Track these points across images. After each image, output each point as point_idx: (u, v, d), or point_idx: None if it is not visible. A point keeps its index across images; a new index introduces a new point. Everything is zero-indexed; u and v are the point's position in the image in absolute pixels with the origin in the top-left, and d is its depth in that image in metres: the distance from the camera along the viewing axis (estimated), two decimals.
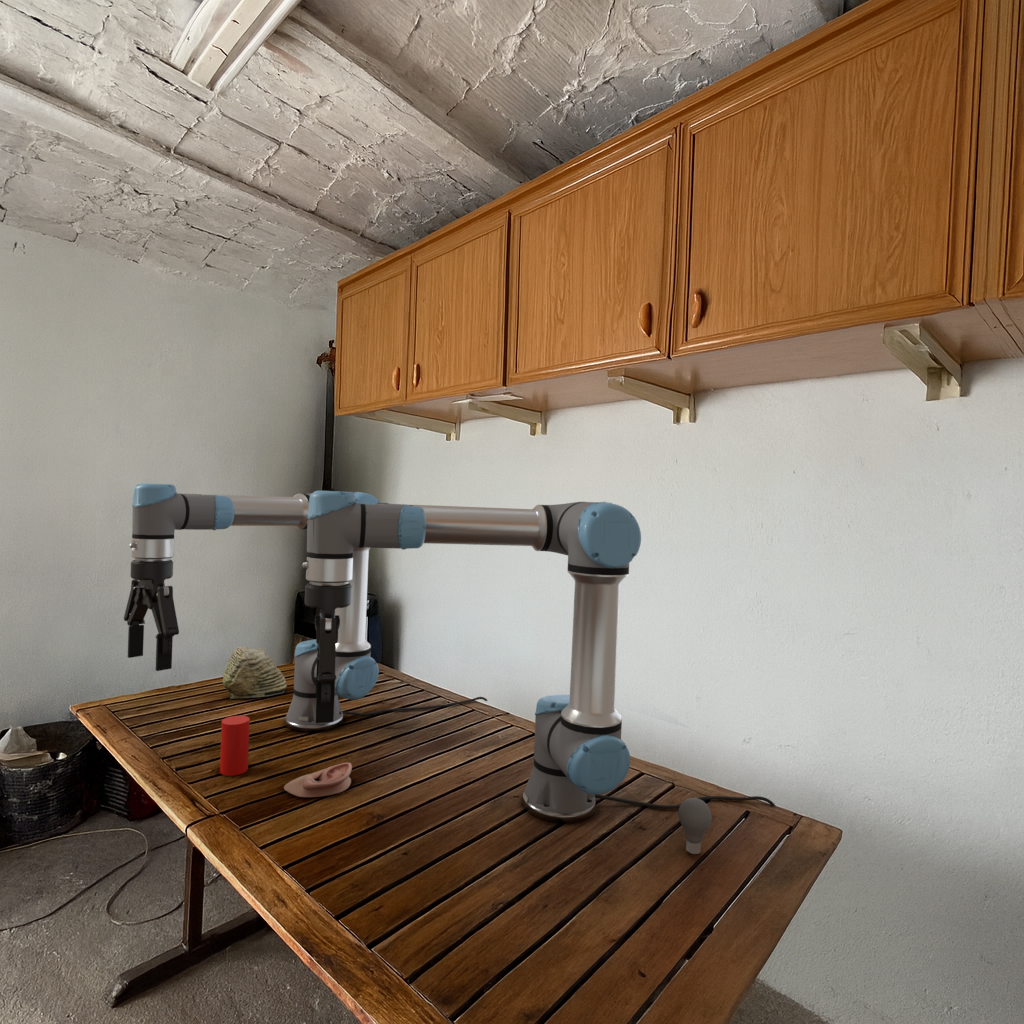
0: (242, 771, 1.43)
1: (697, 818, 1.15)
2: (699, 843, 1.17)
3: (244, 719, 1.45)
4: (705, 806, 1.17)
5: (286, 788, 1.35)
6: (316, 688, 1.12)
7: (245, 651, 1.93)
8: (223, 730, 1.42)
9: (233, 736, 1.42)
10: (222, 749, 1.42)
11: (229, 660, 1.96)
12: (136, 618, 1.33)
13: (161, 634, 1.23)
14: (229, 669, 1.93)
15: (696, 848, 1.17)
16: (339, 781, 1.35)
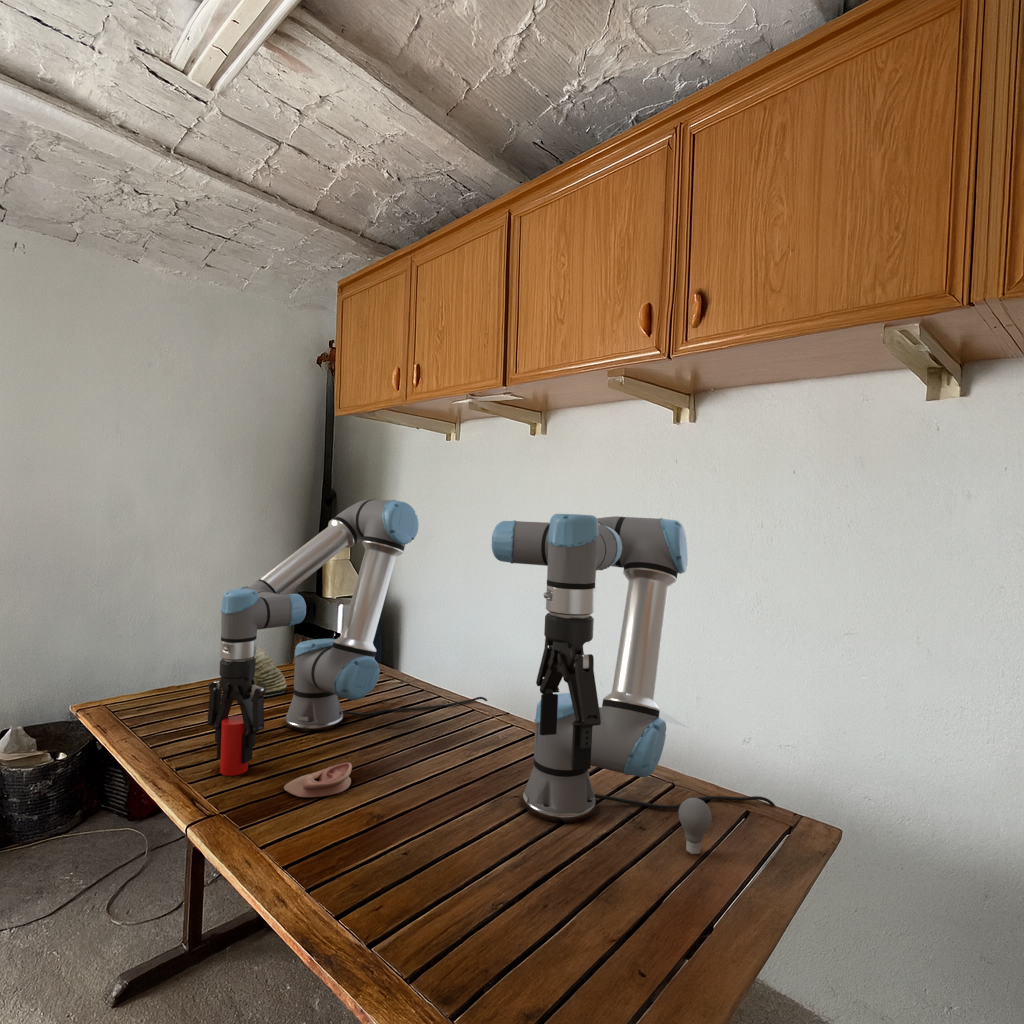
0: (242, 771, 1.43)
1: (697, 818, 1.15)
2: (699, 843, 1.17)
3: None
4: (705, 806, 1.17)
5: (286, 788, 1.35)
6: (541, 726, 1.04)
7: None
8: (223, 730, 1.42)
9: (233, 736, 1.42)
10: (222, 749, 1.42)
11: None
12: None
13: (250, 732, 1.42)
14: None
15: (696, 848, 1.17)
16: (339, 781, 1.35)
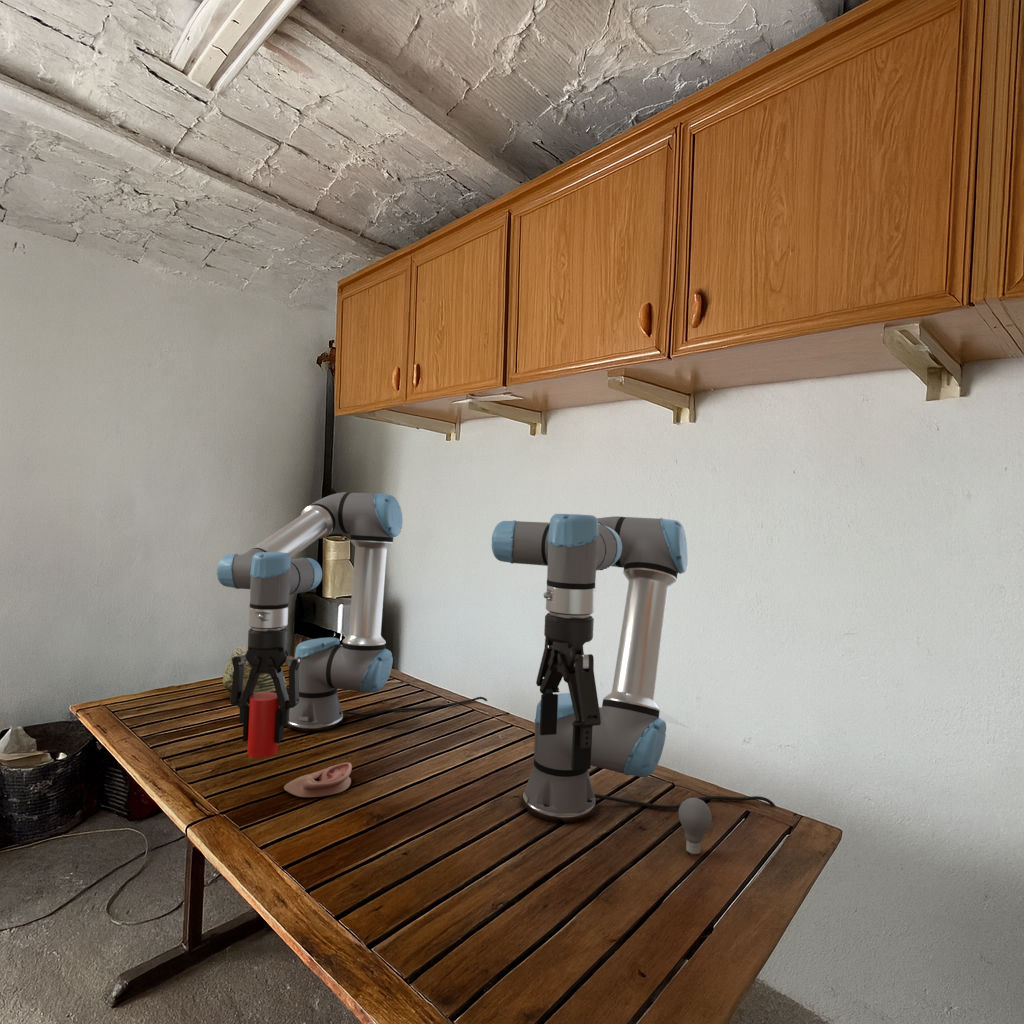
0: (275, 752, 1.30)
1: (697, 818, 1.15)
2: (699, 843, 1.17)
3: (274, 695, 1.31)
4: (705, 806, 1.17)
5: (286, 788, 1.35)
6: (541, 726, 1.04)
7: (245, 651, 1.93)
8: (254, 708, 1.28)
9: (267, 713, 1.28)
10: (252, 729, 1.28)
11: (229, 660, 1.96)
12: (249, 696, 1.30)
13: (285, 708, 1.29)
14: (229, 669, 1.93)
15: (696, 848, 1.17)
16: (339, 781, 1.35)
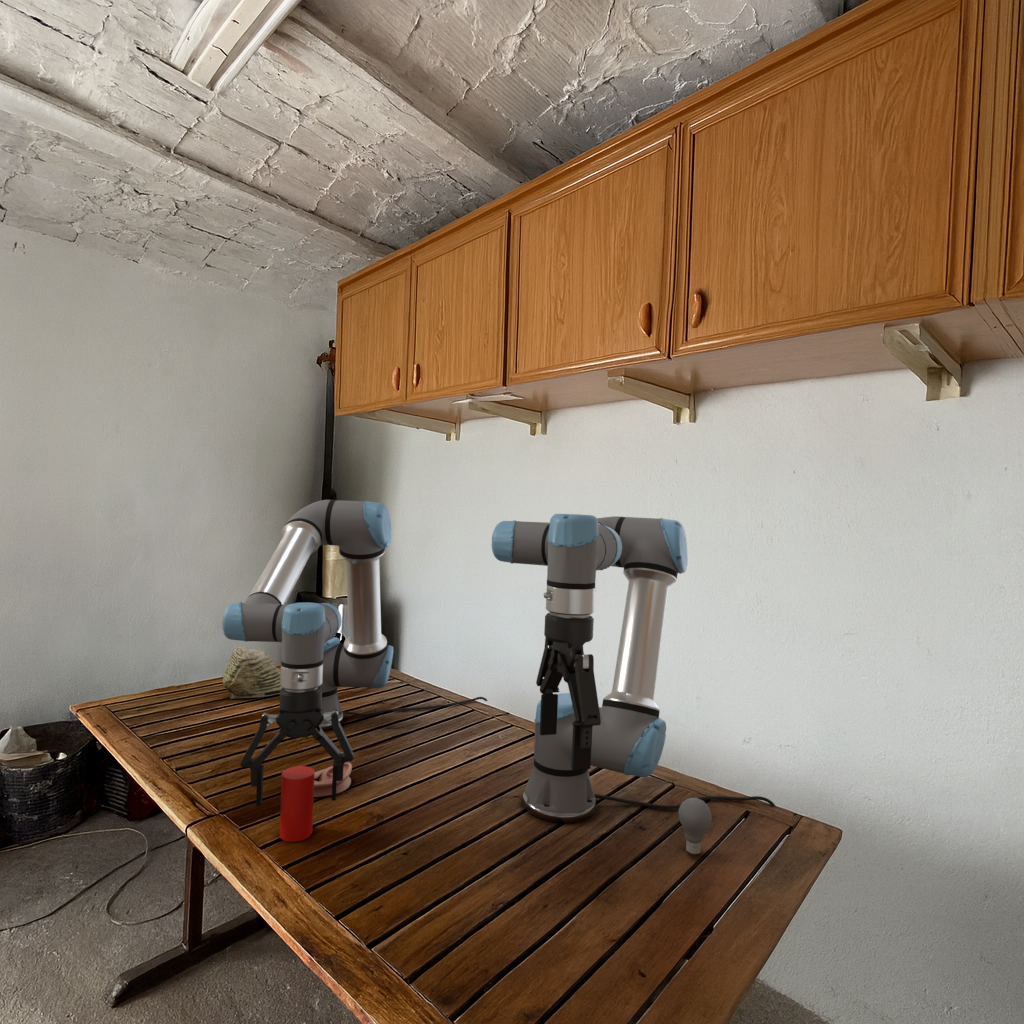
0: (311, 831, 1.19)
1: (697, 818, 1.15)
2: (699, 843, 1.17)
3: (307, 769, 1.20)
4: (705, 806, 1.17)
5: None
6: (541, 726, 1.04)
7: (245, 651, 1.93)
8: (291, 787, 1.16)
9: (305, 792, 1.17)
10: (289, 811, 1.16)
11: (229, 660, 1.96)
12: None
13: (343, 761, 1.19)
14: (229, 669, 1.93)
15: (696, 848, 1.17)
16: (339, 781, 1.35)
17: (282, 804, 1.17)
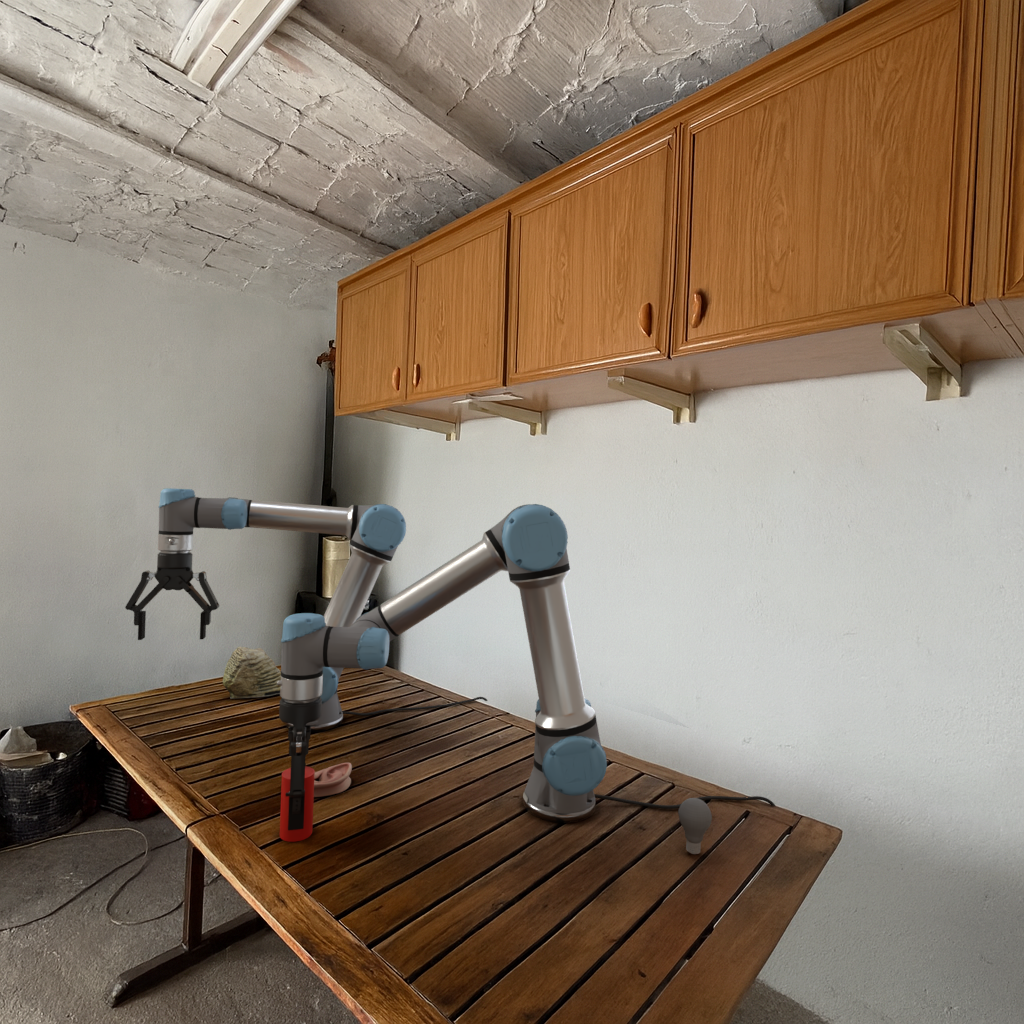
0: (311, 831, 1.19)
1: (697, 818, 1.15)
2: (699, 843, 1.17)
3: (307, 769, 1.20)
4: (705, 806, 1.17)
5: None
6: None
7: (245, 651, 1.93)
8: None
9: (305, 792, 1.17)
10: None
11: (229, 660, 1.96)
12: (145, 605, 1.53)
13: (209, 609, 1.55)
14: (229, 669, 1.93)
15: (696, 848, 1.17)
16: (339, 781, 1.35)
17: (282, 804, 1.17)
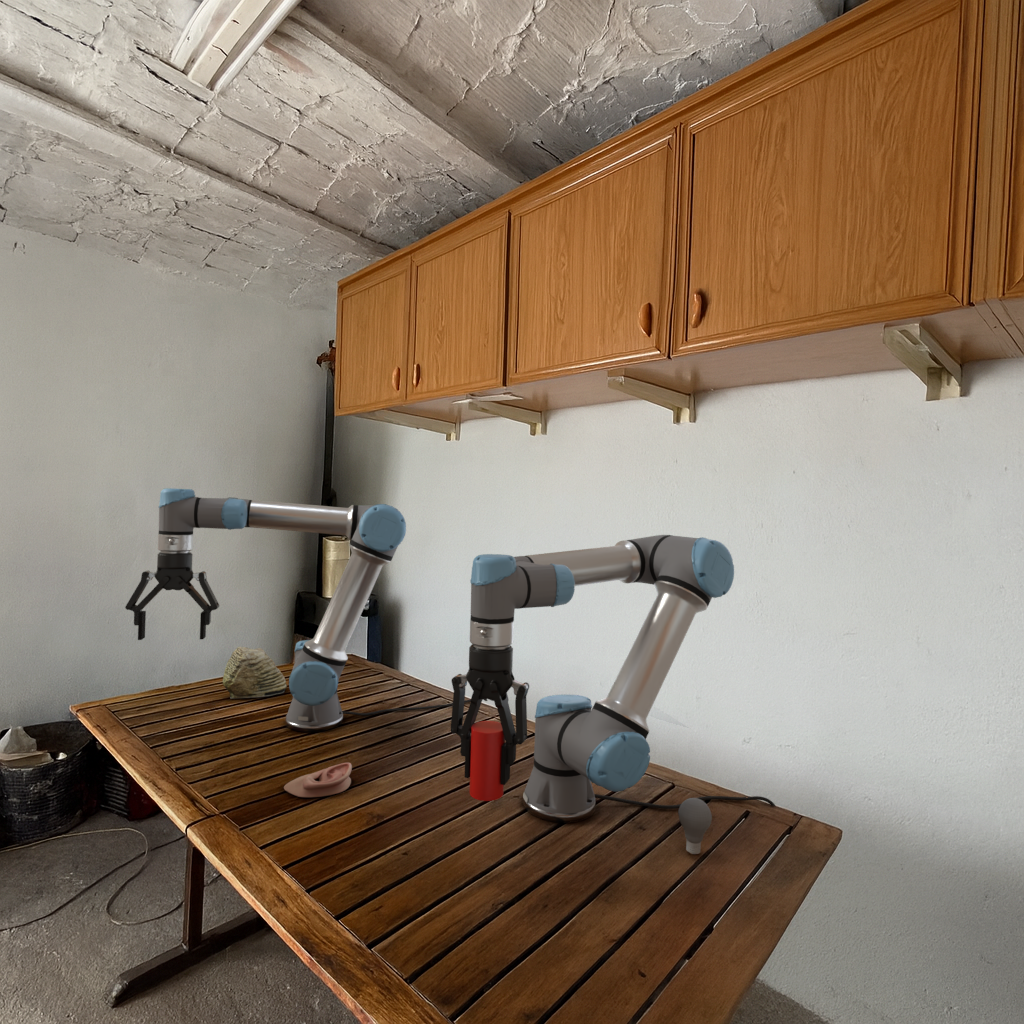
0: None
1: (697, 818, 1.15)
2: (699, 843, 1.17)
3: (487, 722, 1.11)
4: (705, 806, 1.17)
5: (286, 788, 1.35)
6: (468, 769, 1.09)
7: (245, 651, 1.93)
8: (500, 740, 1.07)
9: None
10: (499, 766, 1.07)
11: (229, 660, 1.96)
12: (145, 605, 1.53)
13: (209, 609, 1.55)
14: (229, 669, 1.93)
15: (696, 848, 1.17)
16: (339, 781, 1.35)
17: (489, 763, 1.06)
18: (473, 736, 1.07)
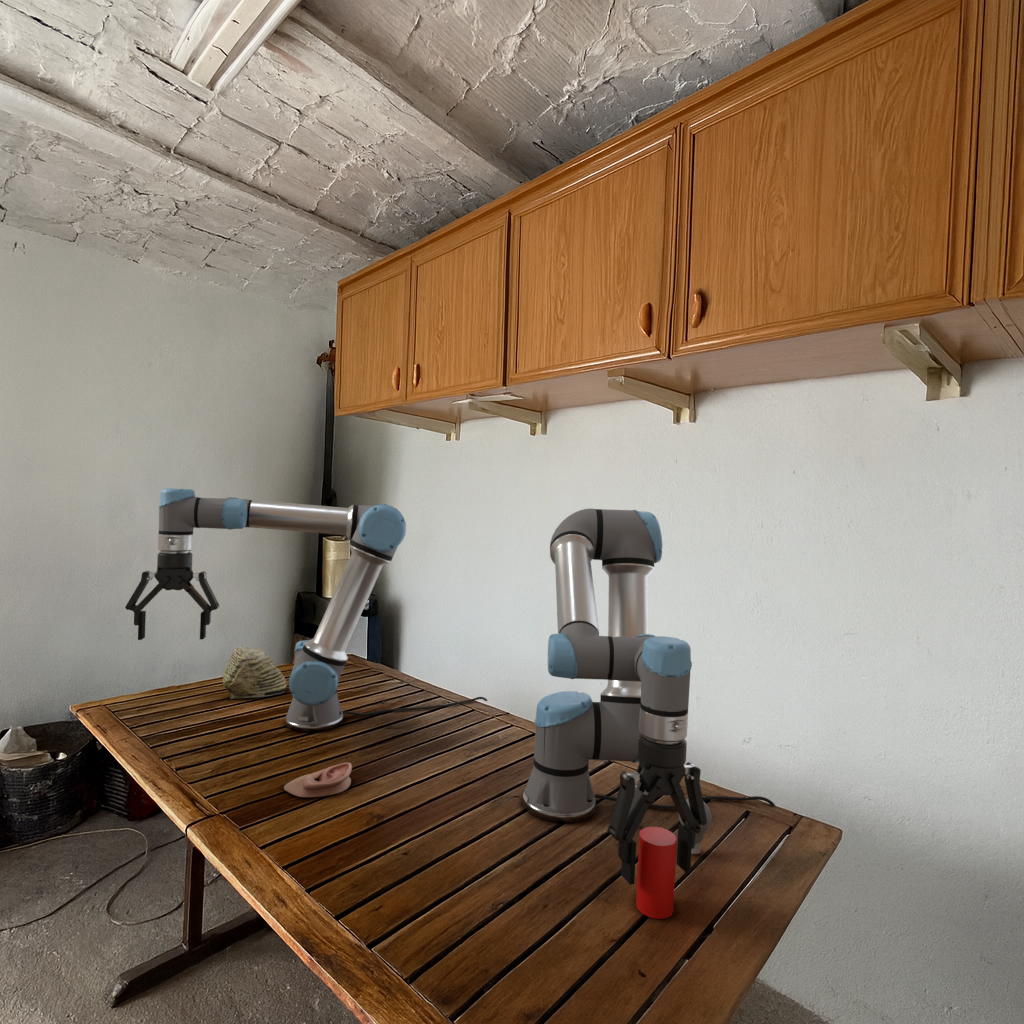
0: None
1: None
2: (699, 843, 1.17)
3: (647, 831, 1.03)
4: (705, 806, 1.17)
5: (286, 788, 1.35)
6: (634, 874, 0.99)
7: (245, 651, 1.93)
8: None
9: None
10: None
11: (229, 660, 1.96)
12: (145, 605, 1.53)
13: (209, 609, 1.55)
14: (229, 669, 1.93)
15: (696, 848, 1.17)
16: (339, 781, 1.35)
17: (673, 875, 1.00)
18: (656, 852, 0.99)
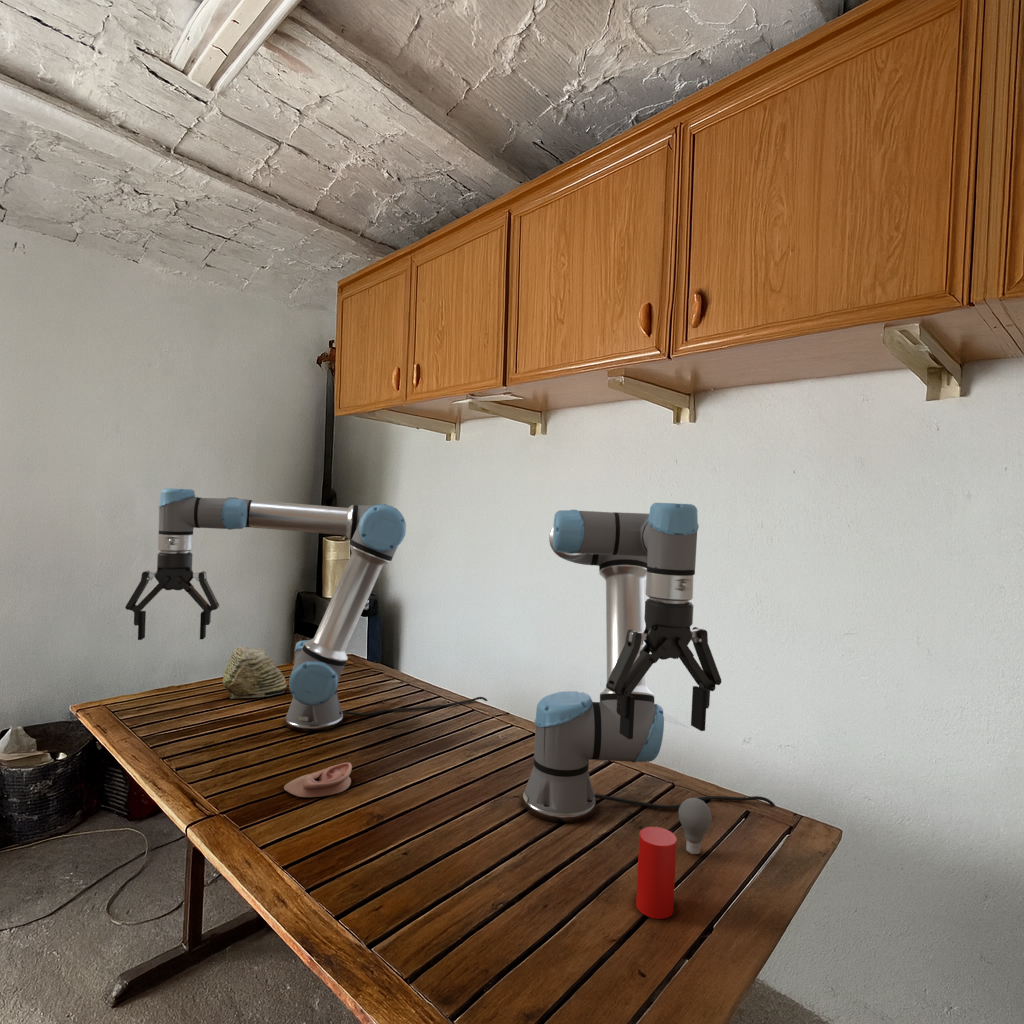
0: None
1: (697, 818, 1.15)
2: (699, 843, 1.17)
3: (647, 831, 1.03)
4: (705, 806, 1.17)
5: (286, 788, 1.35)
6: (633, 729, 0.98)
7: (245, 651, 1.93)
8: None
9: None
10: None
11: (229, 660, 1.96)
12: (145, 605, 1.53)
13: (209, 609, 1.55)
14: (229, 669, 1.93)
15: (696, 848, 1.17)
16: (339, 781, 1.35)
17: (673, 875, 1.00)
18: (656, 852, 0.99)
